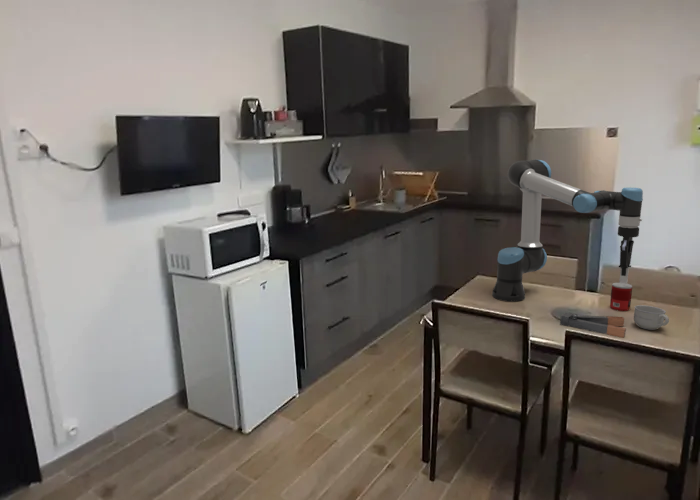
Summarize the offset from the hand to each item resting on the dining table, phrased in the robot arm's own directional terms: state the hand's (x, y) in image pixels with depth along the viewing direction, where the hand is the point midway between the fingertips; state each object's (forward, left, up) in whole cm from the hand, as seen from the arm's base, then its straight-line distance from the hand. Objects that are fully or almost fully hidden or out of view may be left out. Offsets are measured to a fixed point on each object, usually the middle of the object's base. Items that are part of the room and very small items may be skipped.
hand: (623, 282), depth 209 cm
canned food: (-3, +15, -16) cm, 22 cm away
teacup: (+12, -4, -16) cm, 21 cm away
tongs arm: (-6, -13, -16) cm, 21 cm away
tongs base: (-6, -18, -16) cm, 25 cm away
